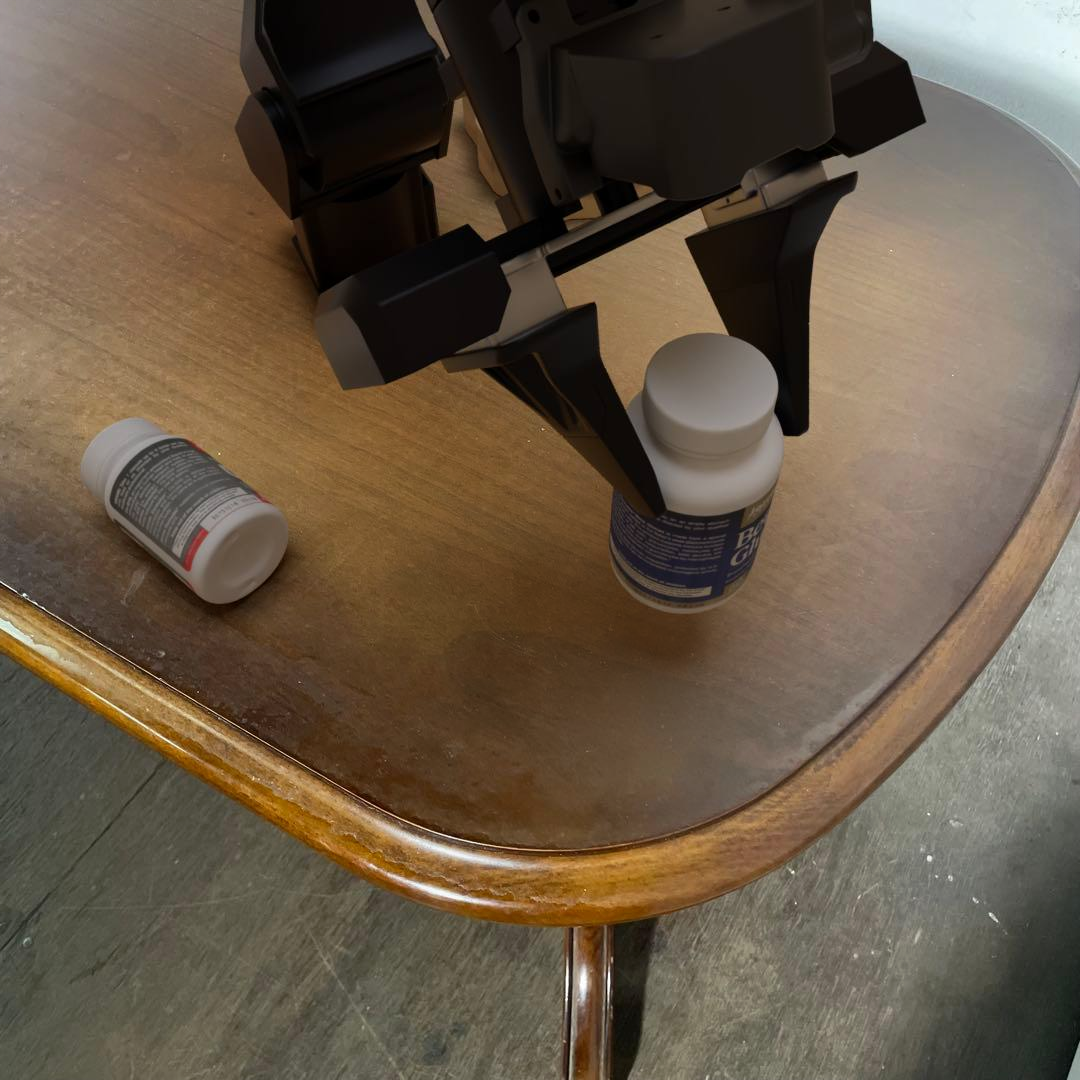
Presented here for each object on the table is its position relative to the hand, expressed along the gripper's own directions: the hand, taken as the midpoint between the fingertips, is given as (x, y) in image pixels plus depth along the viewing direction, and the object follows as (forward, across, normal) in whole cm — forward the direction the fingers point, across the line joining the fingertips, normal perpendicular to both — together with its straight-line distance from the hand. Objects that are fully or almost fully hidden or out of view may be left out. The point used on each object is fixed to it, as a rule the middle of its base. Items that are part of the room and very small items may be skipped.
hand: (726, 474), depth 33 cm
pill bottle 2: (+4, 0, +6) cm, 7 cm away
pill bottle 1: (-2, -13, +15) cm, 20 cm away
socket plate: (-12, +14, +29) cm, 34 cm away
